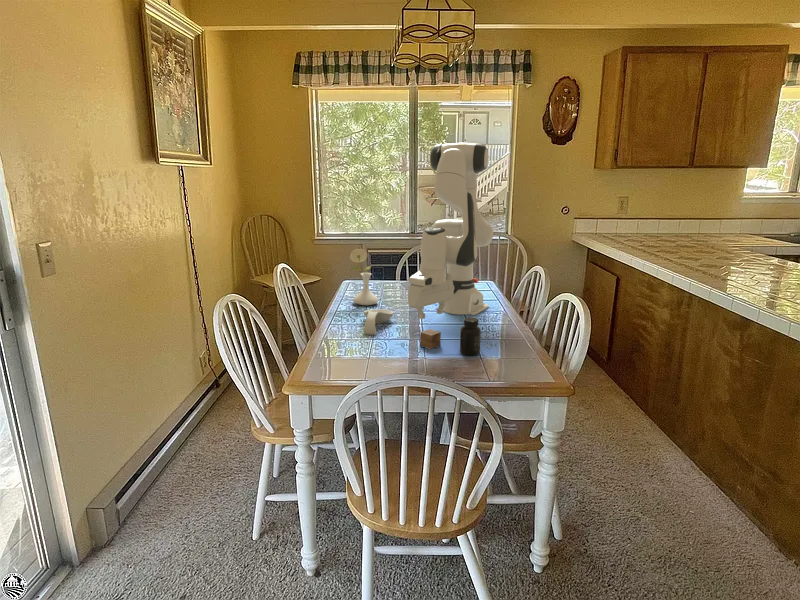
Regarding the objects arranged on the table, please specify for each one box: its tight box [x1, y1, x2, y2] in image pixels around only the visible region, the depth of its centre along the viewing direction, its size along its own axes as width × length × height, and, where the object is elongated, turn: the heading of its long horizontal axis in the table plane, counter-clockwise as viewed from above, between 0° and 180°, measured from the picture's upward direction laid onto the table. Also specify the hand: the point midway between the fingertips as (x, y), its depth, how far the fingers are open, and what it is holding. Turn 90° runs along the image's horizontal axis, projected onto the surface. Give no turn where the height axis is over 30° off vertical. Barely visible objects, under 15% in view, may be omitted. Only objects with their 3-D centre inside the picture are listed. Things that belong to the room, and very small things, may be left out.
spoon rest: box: [363, 308, 394, 336], centre depth 196 cm, size 24×12×7 cm, turn 173°
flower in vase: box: [348, 248, 380, 306], centre depth 223 cm, size 13×11×25 cm
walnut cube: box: [419, 328, 442, 350], centre depth 176 cm, size 5×5×5 cm
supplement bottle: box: [459, 316, 482, 357], centre depth 168 cm, size 7×7×12 cm
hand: (430, 315), depth 173 cm, fingers open, 8 cm apart
